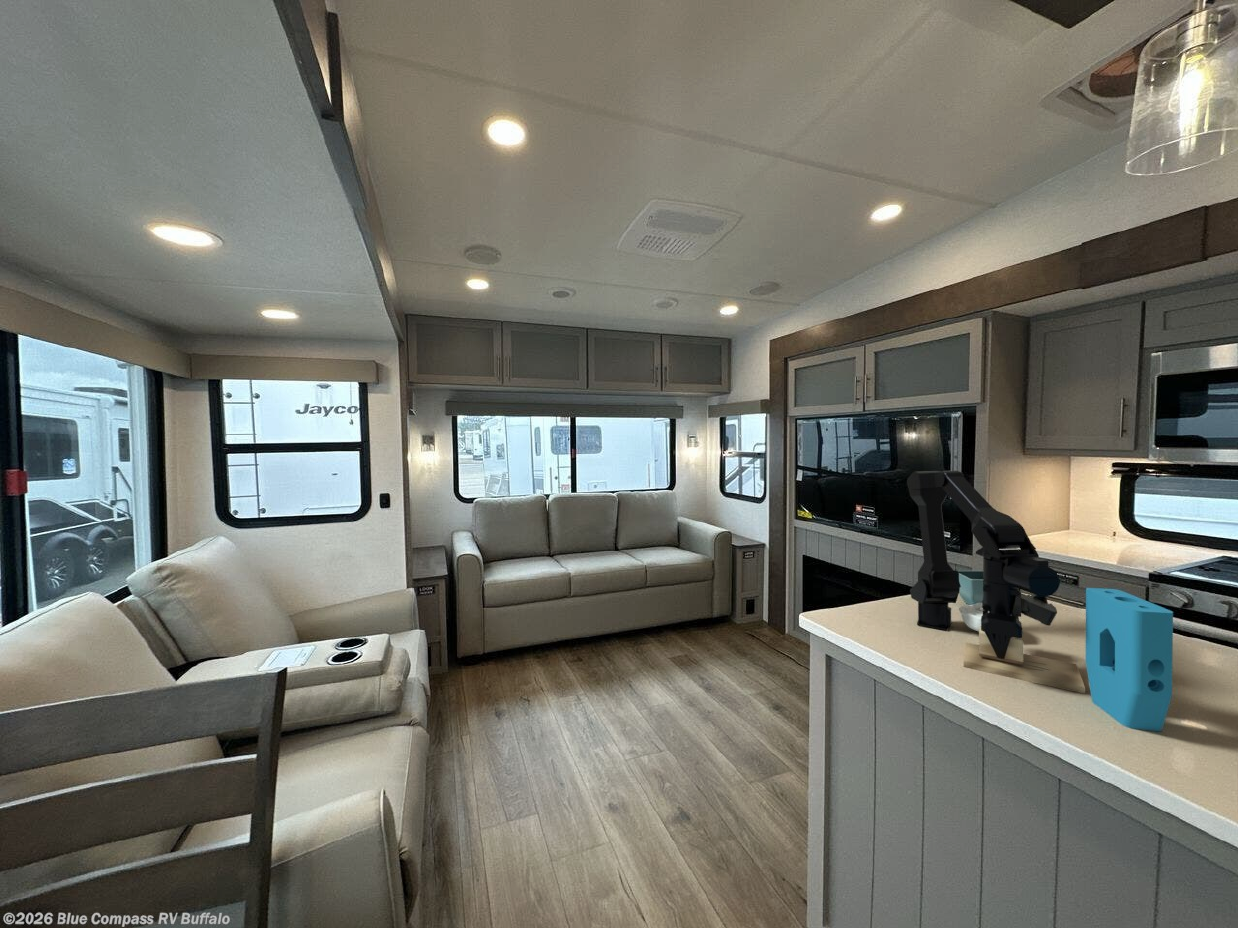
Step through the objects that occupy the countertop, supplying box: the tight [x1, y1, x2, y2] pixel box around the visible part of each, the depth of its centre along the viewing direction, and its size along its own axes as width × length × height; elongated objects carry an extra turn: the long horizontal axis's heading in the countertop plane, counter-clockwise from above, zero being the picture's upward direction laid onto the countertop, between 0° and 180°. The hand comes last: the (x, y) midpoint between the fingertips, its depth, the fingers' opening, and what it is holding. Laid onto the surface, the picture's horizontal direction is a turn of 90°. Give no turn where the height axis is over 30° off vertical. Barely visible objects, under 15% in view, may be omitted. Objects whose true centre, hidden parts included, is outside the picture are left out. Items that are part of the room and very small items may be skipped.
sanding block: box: [978, 626, 1024, 665], centre depth 96 cm, size 7×4×5 cm, turn 51°
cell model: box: [958, 603, 984, 632], centre depth 112 cm, size 10×12×7 cm
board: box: [963, 642, 1086, 694], centre depth 95 cm, size 18×11×1 cm, turn 51°
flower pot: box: [957, 570, 983, 605], centre depth 129 cm, size 9×9×9 cm
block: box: [1085, 587, 1174, 732], centre depth 78 cm, size 12×5×20 cm, turn 164°
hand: (1000, 653), depth 96 cm, fingers closed on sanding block, 4 cm apart
